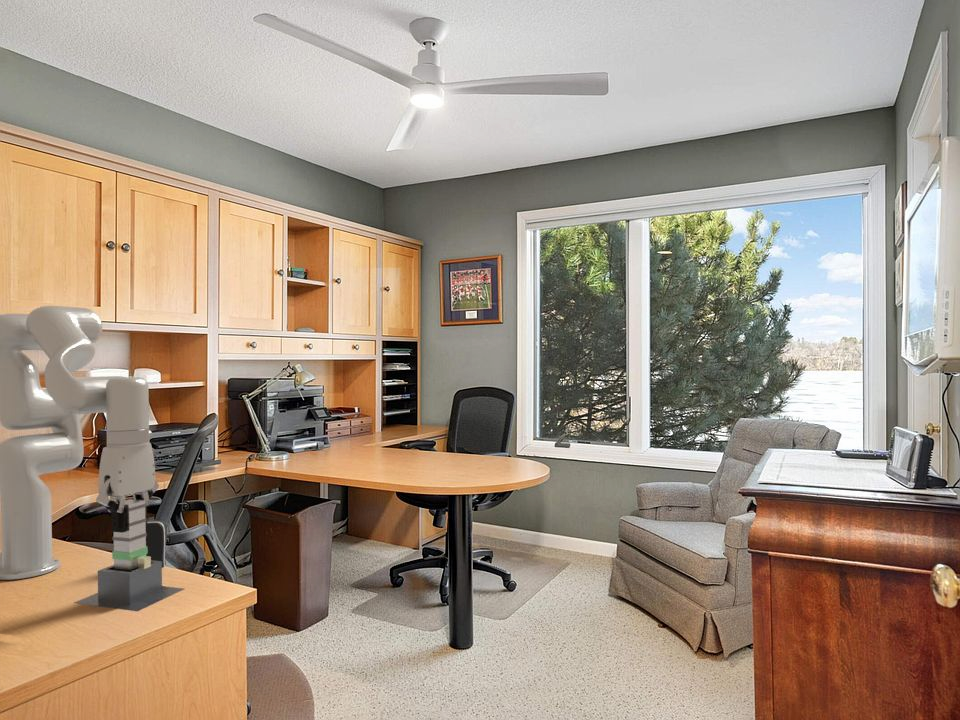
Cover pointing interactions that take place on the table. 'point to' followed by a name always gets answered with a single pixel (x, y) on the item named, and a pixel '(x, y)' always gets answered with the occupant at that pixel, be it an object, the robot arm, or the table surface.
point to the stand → (130, 587)
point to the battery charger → (156, 540)
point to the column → (131, 537)
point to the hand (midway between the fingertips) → (129, 527)
